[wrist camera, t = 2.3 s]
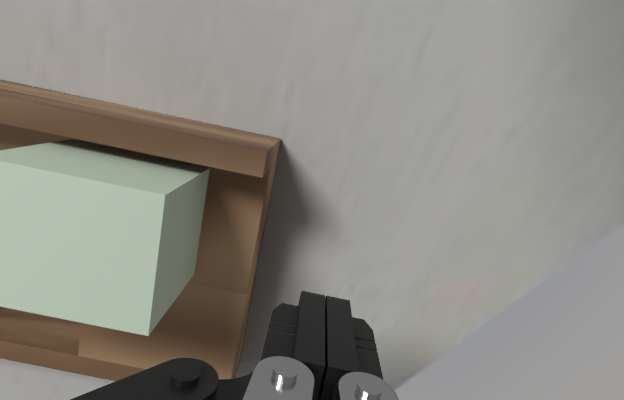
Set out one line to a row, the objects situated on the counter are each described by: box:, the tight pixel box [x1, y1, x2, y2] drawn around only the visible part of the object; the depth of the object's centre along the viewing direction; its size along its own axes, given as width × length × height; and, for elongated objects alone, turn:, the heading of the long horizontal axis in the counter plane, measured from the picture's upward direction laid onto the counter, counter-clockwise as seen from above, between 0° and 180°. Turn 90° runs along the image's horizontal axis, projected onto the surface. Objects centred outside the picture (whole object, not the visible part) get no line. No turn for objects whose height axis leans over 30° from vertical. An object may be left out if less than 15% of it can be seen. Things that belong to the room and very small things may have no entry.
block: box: [0, 139, 210, 336], centre depth 16 cm, size 5×6×5 cm
